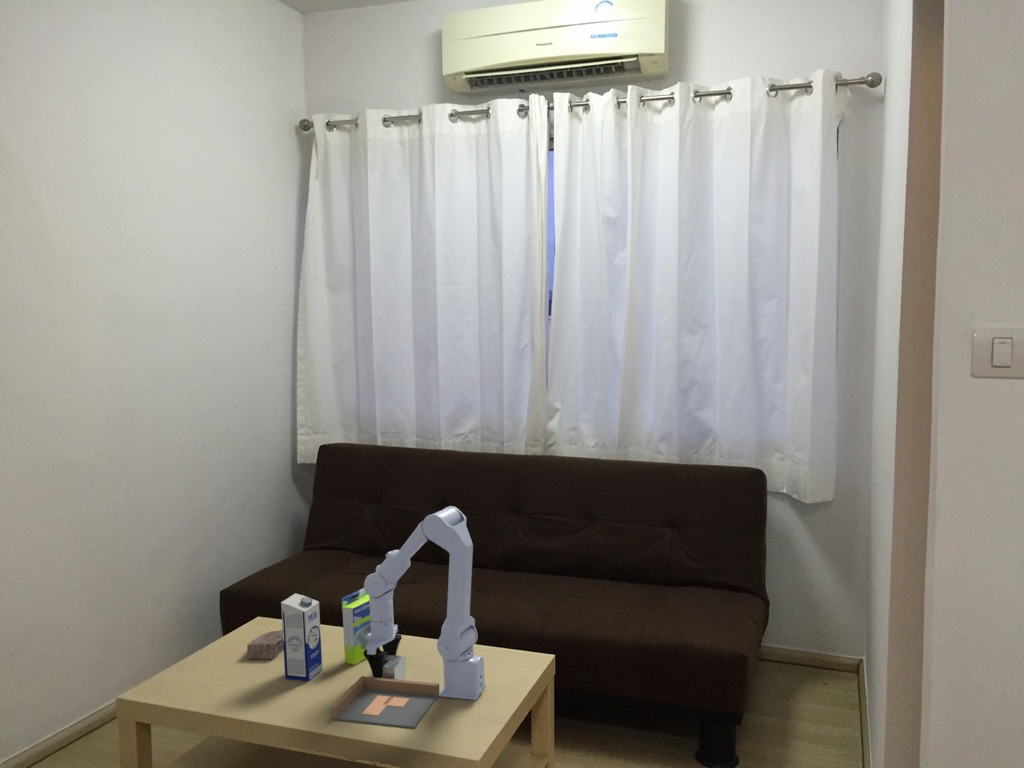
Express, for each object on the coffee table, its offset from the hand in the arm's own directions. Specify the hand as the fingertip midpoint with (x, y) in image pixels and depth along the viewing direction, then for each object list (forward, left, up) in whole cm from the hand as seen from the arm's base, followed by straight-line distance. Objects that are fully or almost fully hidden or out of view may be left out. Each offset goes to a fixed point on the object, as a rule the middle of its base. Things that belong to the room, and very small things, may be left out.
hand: (384, 670), depth 205 cm
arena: (-7, +15, -1) cm, 17 cm away
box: (+11, -10, -2) cm, 15 cm away
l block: (-1, +2, -1) cm, 3 cm away
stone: (+38, -8, -2) cm, 39 cm away
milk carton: (+21, +3, -2) cm, 21 cm away
